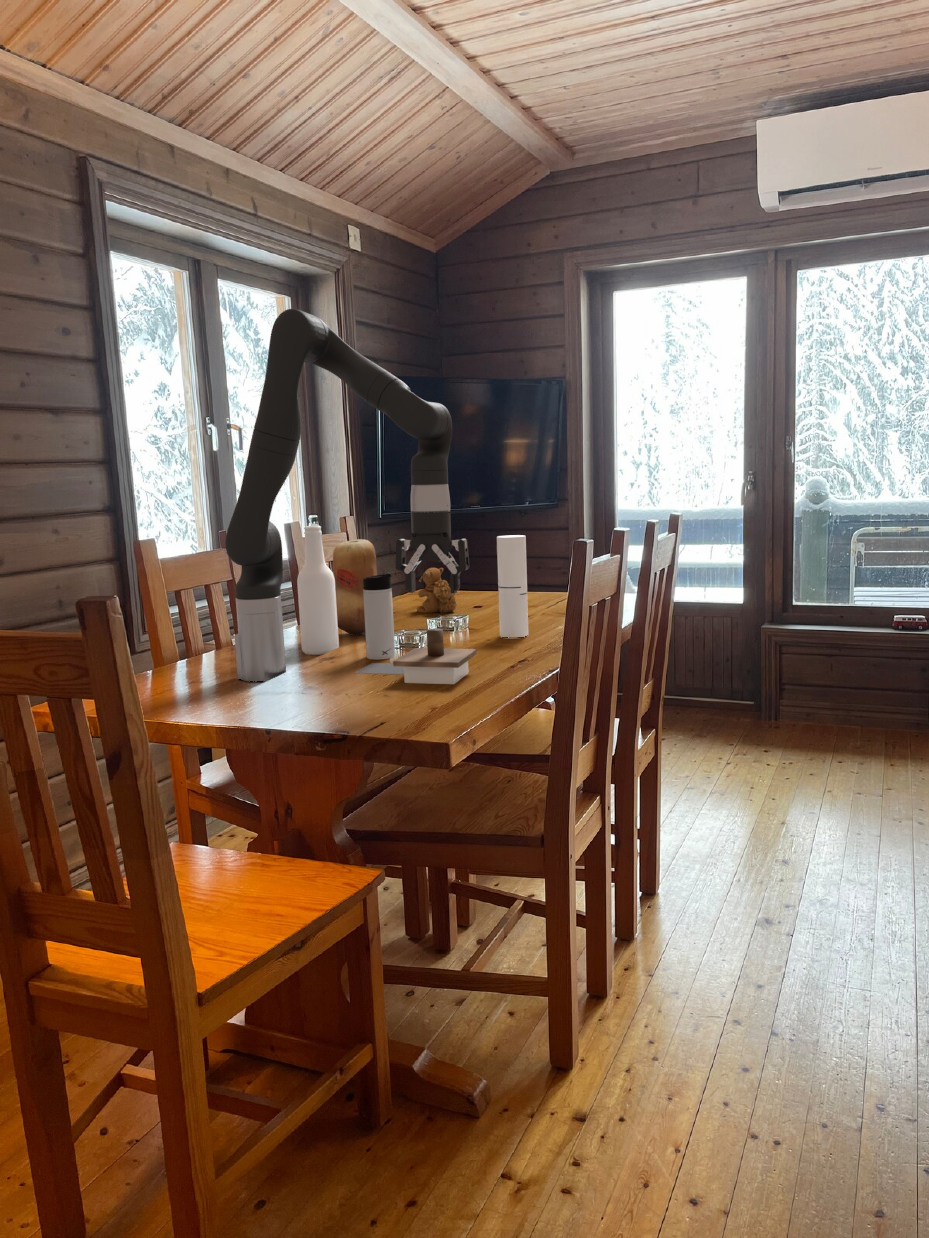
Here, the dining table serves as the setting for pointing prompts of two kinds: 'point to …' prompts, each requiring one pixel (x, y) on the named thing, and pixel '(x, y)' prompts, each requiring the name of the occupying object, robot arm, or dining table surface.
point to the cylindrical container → (512, 585)
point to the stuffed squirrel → (436, 593)
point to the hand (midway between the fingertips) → (433, 592)
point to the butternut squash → (352, 582)
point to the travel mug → (379, 616)
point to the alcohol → (317, 598)
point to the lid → (435, 654)
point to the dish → (435, 674)
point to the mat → (382, 669)
